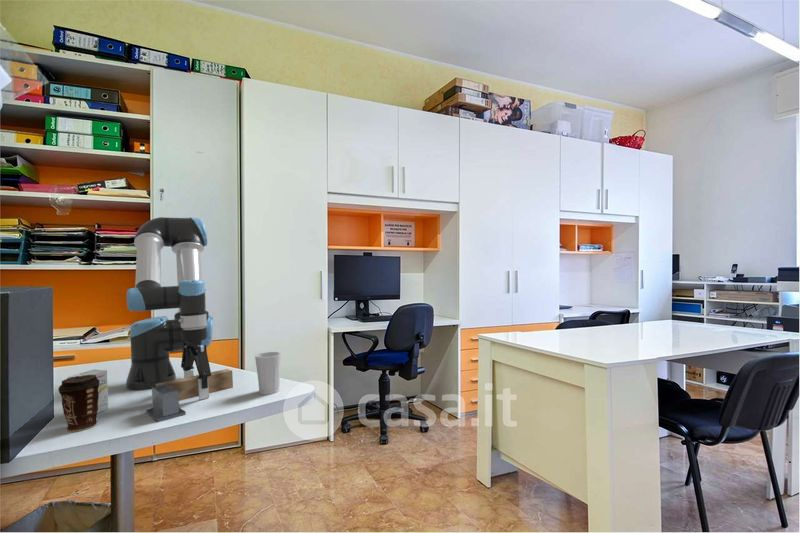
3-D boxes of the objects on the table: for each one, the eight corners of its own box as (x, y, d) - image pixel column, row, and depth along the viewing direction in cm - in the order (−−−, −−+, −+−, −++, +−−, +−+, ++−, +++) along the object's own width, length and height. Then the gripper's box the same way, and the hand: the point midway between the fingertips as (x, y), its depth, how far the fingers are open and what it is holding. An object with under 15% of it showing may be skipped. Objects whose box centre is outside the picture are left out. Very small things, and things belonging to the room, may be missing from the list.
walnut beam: (160, 406, 123) (159, 386, 123) (156, 403, 126) (155, 383, 126) (233, 388, 139) (232, 370, 139) (228, 386, 142) (227, 368, 142)
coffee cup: (77, 421, 112) (74, 374, 112) (109, 419, 113) (106, 372, 113) (52, 435, 104) (50, 383, 104) (87, 432, 104) (85, 381, 104)
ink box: (95, 408, 123) (93, 368, 123) (109, 408, 122) (107, 369, 122) (66, 419, 115) (64, 377, 114) (82, 420, 114) (80, 377, 113)
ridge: (146, 412, 118) (145, 388, 118) (173, 405, 123) (172, 382, 123) (157, 422, 110) (156, 396, 110) (185, 414, 115) (184, 389, 115)
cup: (251, 392, 133) (250, 355, 133) (274, 386, 139) (272, 350, 139) (264, 397, 128) (262, 358, 128) (286, 390, 134) (285, 353, 133)
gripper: (168, 326, 138) (171, 389, 138) (194, 333, 121) (198, 405, 121) (192, 323, 144) (195, 384, 144) (220, 329, 126) (223, 399, 126)
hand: (196, 394), depth 132 cm, fingers open, 12 cm apart
